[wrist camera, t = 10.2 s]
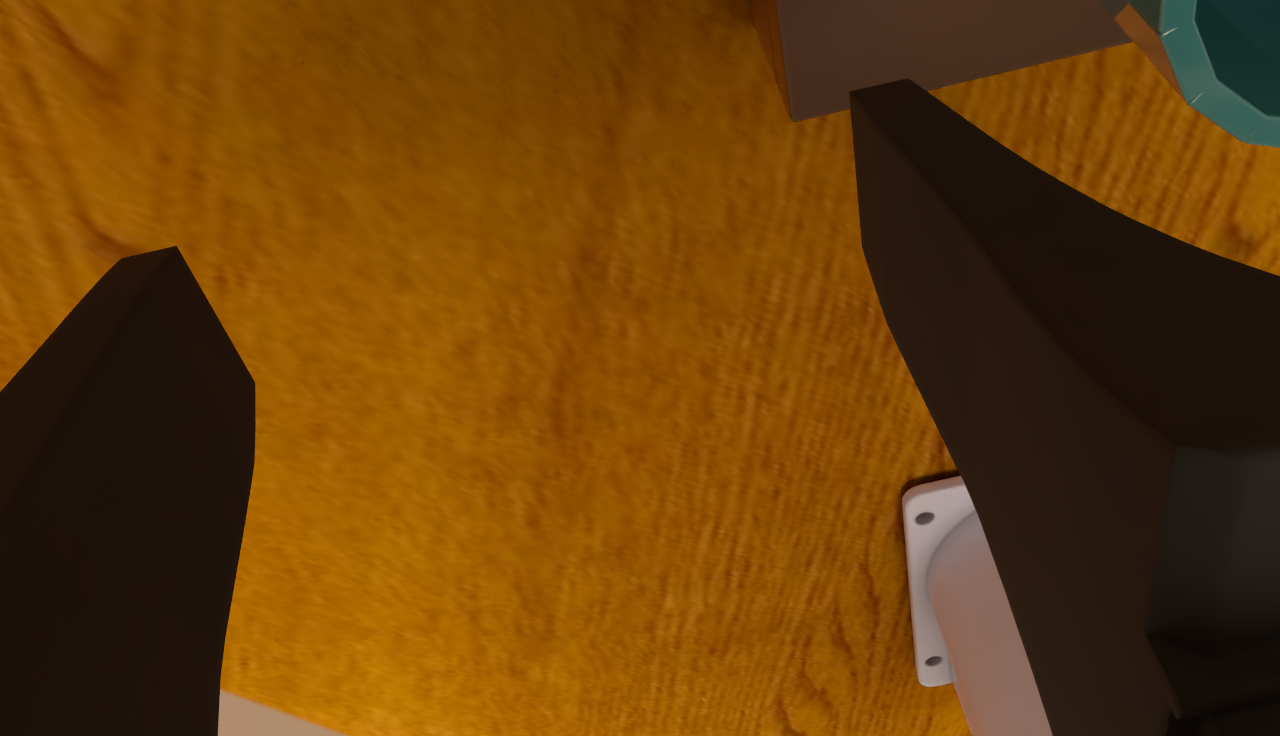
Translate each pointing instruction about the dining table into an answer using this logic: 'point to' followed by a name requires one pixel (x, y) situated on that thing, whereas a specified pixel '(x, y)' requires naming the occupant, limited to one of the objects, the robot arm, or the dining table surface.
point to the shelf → (916, 42)
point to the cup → (1214, 58)
